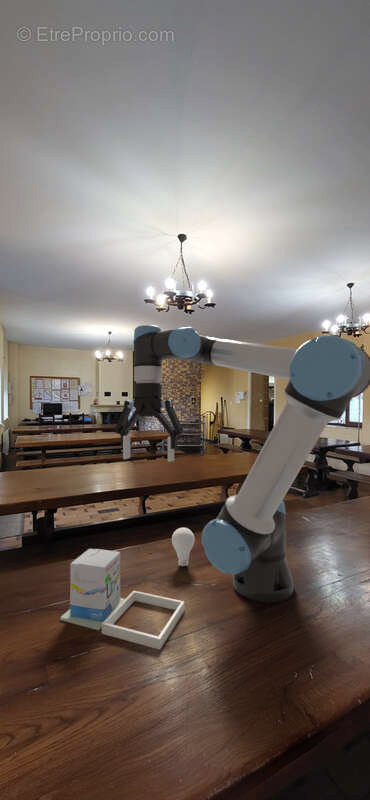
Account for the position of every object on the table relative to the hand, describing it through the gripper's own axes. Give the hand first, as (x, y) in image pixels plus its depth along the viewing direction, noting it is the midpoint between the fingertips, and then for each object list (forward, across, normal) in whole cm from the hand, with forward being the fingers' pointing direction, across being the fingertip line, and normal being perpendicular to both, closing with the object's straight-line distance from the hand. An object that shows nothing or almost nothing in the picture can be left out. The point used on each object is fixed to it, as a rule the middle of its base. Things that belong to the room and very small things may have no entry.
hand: (148, 459), depth 94 cm
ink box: (+31, +4, +18) cm, 37 cm away
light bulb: (+32, -7, -8) cm, 34 cm away
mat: (+32, +4, +18) cm, 37 cm away
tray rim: (+32, -8, +18) cm, 37 cm away
